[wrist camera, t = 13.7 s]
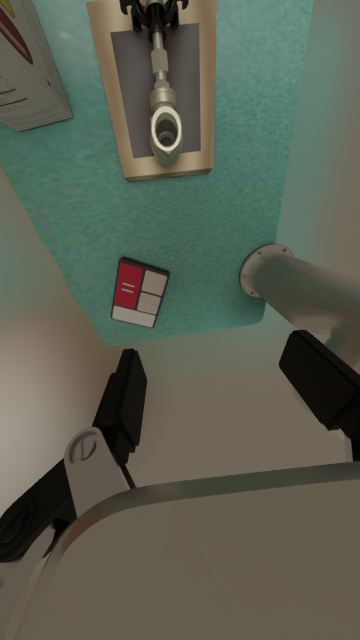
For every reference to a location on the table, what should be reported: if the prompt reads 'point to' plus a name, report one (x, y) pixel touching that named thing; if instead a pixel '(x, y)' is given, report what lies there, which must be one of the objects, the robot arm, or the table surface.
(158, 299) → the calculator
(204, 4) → the tapered tan tray
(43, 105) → the supplement box
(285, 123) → the table surface
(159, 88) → the valve
